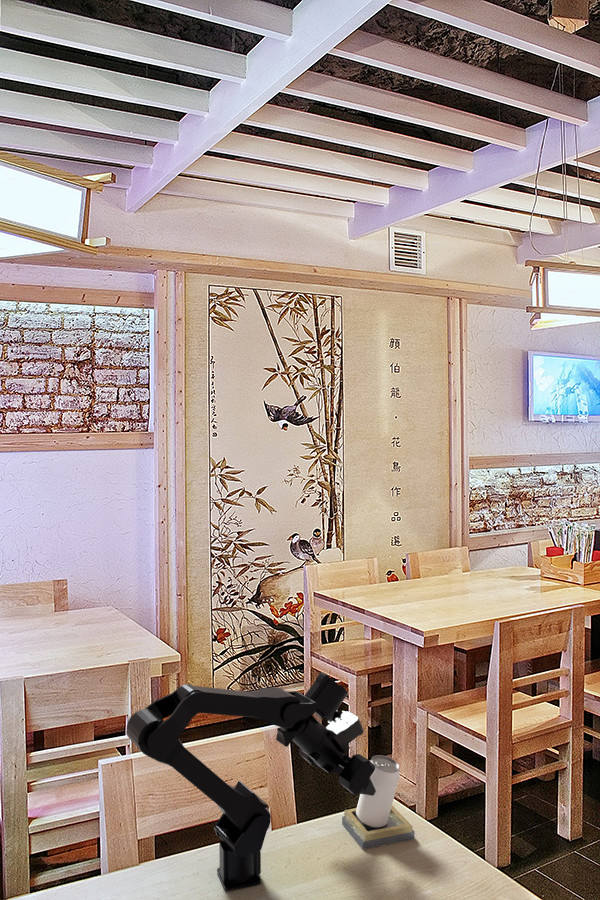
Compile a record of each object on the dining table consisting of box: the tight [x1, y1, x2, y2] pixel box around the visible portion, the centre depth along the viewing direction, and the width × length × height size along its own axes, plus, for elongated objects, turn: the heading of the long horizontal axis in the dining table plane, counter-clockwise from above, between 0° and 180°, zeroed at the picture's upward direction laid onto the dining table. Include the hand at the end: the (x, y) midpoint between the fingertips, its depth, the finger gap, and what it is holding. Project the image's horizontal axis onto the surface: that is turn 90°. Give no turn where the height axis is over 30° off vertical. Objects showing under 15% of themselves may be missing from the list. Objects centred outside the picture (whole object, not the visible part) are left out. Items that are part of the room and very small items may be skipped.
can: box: [356, 754, 401, 828], centre depth 150 cm, size 6×6×12 cm
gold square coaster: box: [341, 805, 416, 850], centre depth 150 cm, size 11×10×3 cm
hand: (360, 783), depth 147 cm, fingers open, 9 cm apart
